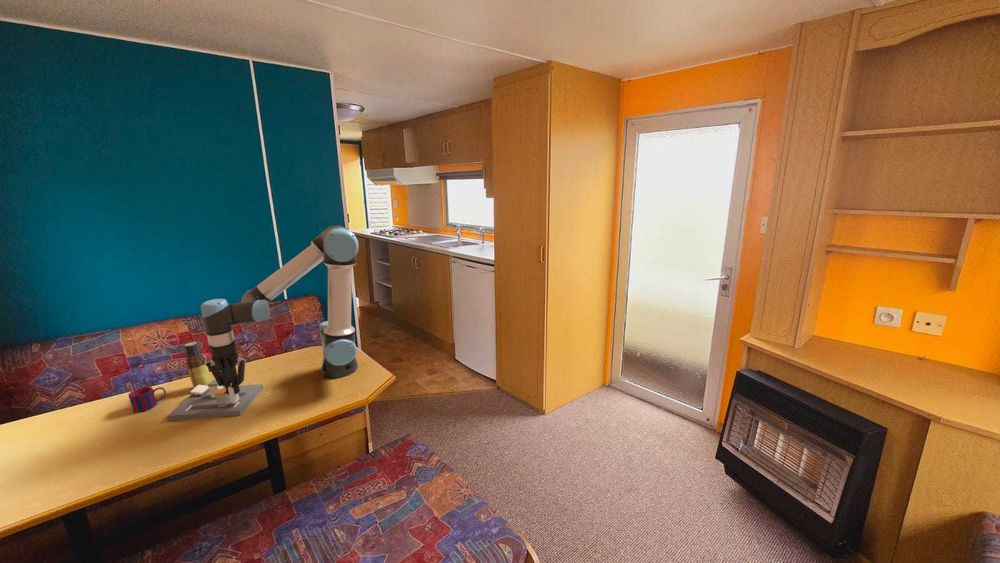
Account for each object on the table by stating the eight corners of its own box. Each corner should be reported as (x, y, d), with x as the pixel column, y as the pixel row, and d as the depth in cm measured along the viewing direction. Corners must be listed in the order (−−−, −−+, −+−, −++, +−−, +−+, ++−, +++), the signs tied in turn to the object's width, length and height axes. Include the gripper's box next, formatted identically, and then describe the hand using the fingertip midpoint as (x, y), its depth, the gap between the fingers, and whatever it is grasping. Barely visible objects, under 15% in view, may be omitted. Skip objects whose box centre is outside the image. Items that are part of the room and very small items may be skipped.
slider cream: (224, 393, 149) (221, 379, 148) (220, 397, 146) (216, 384, 145) (215, 393, 149) (212, 380, 148) (210, 398, 146) (207, 384, 144)
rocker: (209, 390, 153) (209, 386, 152) (201, 397, 148) (201, 393, 148) (198, 388, 152) (198, 384, 152) (190, 395, 147) (190, 391, 147)
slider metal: (232, 401, 144) (228, 388, 142) (227, 406, 140) (224, 393, 139) (222, 402, 143) (219, 388, 142) (217, 407, 140) (214, 393, 138)
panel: (263, 388, 157) (262, 384, 156) (240, 415, 139) (239, 410, 139) (199, 393, 154) (198, 388, 153) (167, 420, 137) (166, 415, 136)
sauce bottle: (216, 384, 160) (206, 340, 155) (204, 392, 154) (192, 347, 149) (202, 383, 161) (191, 340, 155) (189, 391, 155) (177, 346, 149)
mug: (135, 406, 146) (130, 390, 144) (169, 397, 151) (164, 382, 149) (131, 415, 140) (126, 398, 138) (167, 405, 146) (162, 389, 144)
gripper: (247, 337, 140) (259, 394, 146) (208, 339, 138) (222, 396, 145) (236, 346, 133) (249, 405, 139) (195, 348, 131) (210, 408, 137)
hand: (235, 401), depth 142 cm, fingers closed
